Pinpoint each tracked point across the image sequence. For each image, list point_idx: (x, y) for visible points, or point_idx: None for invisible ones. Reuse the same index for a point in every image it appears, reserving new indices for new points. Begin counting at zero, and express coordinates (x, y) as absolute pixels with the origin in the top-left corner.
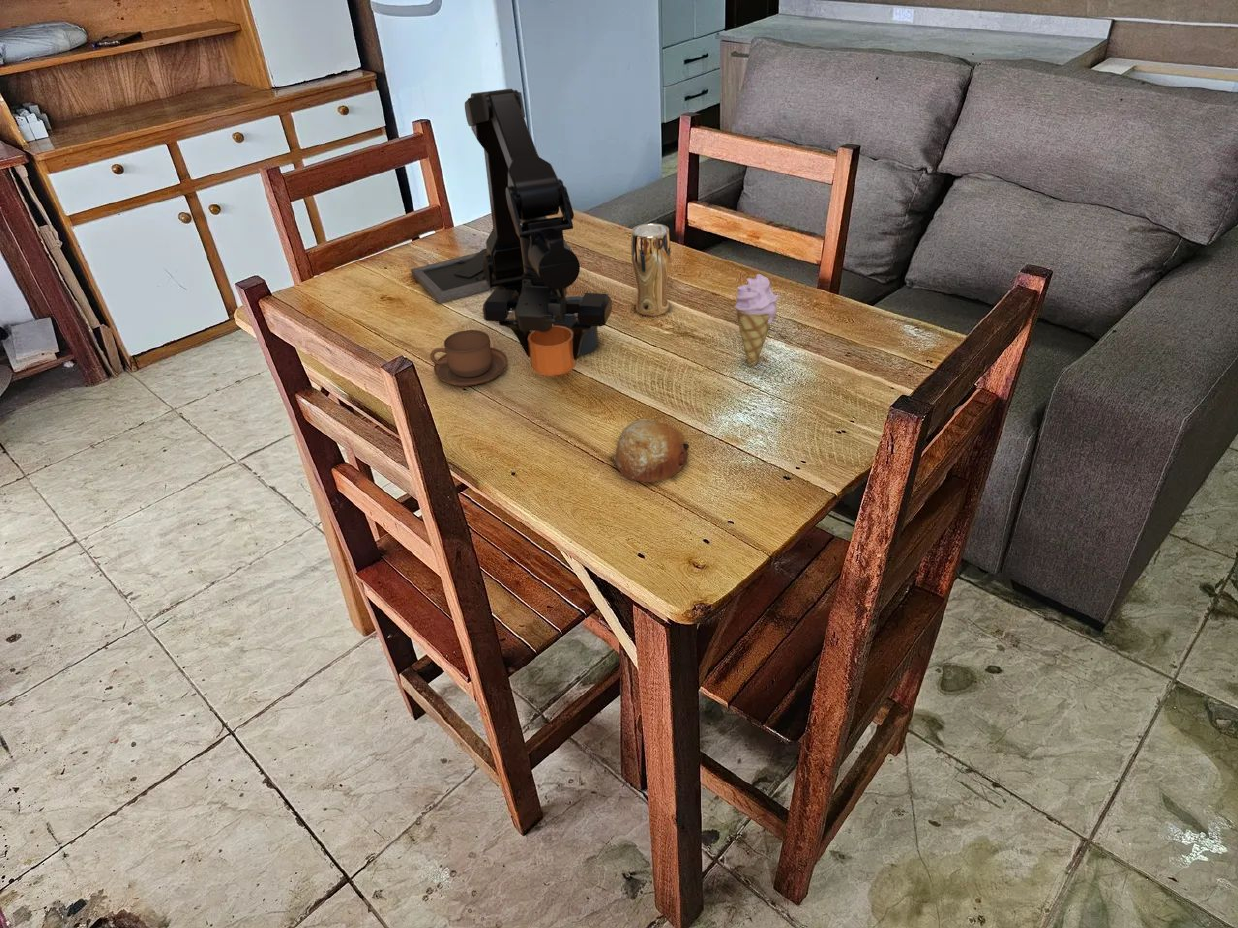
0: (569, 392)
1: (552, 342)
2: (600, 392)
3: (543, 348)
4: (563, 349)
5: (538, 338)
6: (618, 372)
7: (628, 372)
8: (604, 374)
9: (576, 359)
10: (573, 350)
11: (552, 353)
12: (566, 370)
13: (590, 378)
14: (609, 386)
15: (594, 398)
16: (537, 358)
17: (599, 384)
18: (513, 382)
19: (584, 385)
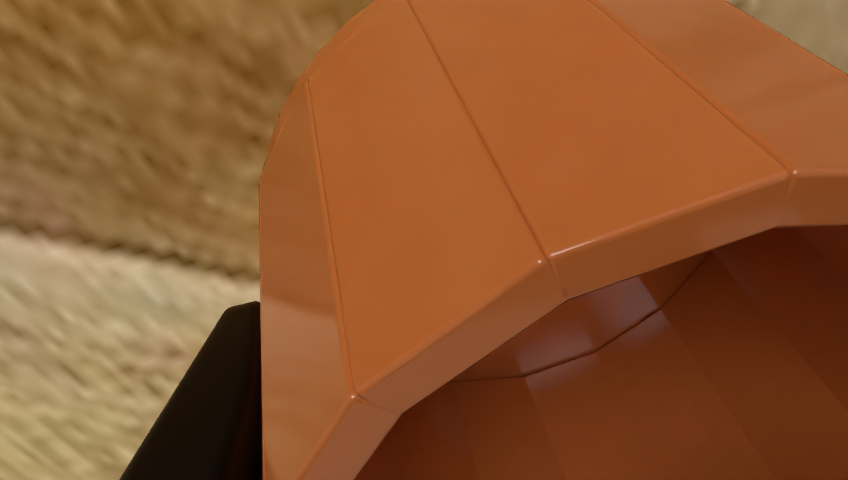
0: (297, 40)
1: (626, 442)
2: (29, 132)
3: (759, 148)
4: (316, 332)
5: (820, 429)
6: (100, 390)
7: (33, 413)
8: (178, 341)
9: (229, 311)
10: (236, 403)
11: (497, 148)
12: (287, 115)
13: (245, 270)
14: (26, 233)
15: (5, 21)
16: (757, 33)
17: (125, 229)
18: (807, 26)
19: (233, 178)
